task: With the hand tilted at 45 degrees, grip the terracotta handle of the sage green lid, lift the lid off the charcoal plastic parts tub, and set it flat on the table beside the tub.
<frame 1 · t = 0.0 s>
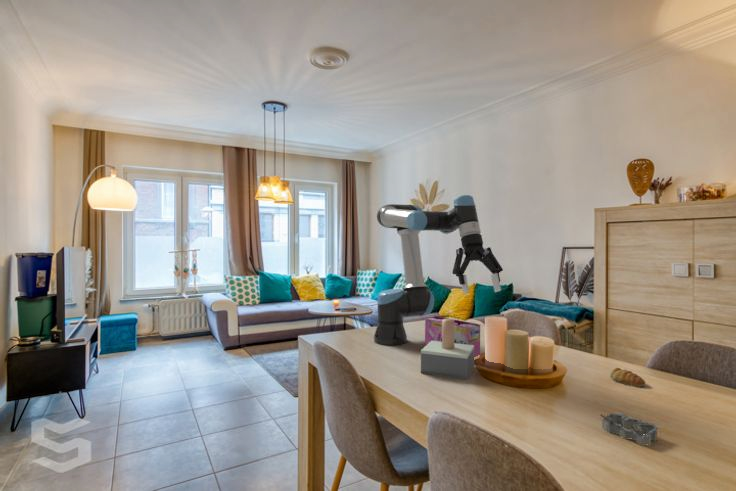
hand: (482, 292, 138), 28 cm above the table, tool tilted 20°, fingers open, 13 cm apart
tub: (448, 369, 140), on the table
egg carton: (629, 435, 94), on the table
lid: (448, 350, 139), point 7 cm above the table, touching tub
pastry: (626, 382, 128), on the table
gum box: (451, 354, 159), on the table
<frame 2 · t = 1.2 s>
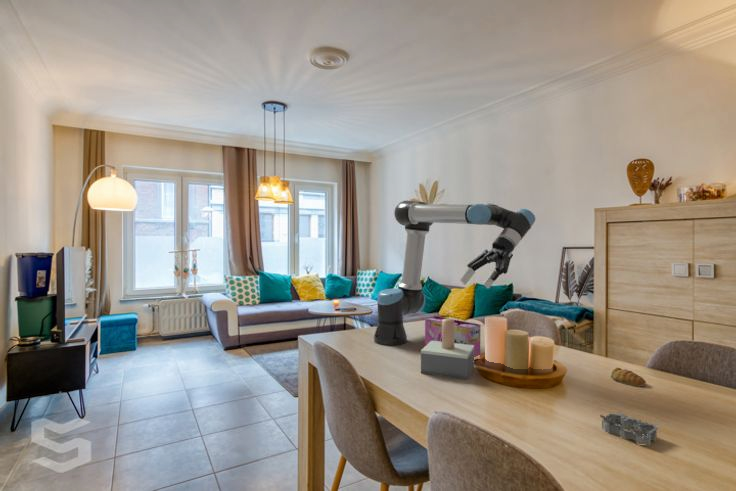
hand: (473, 284, 143), 30 cm above the table, tool tilted 45°, fingers open, 13 cm apart
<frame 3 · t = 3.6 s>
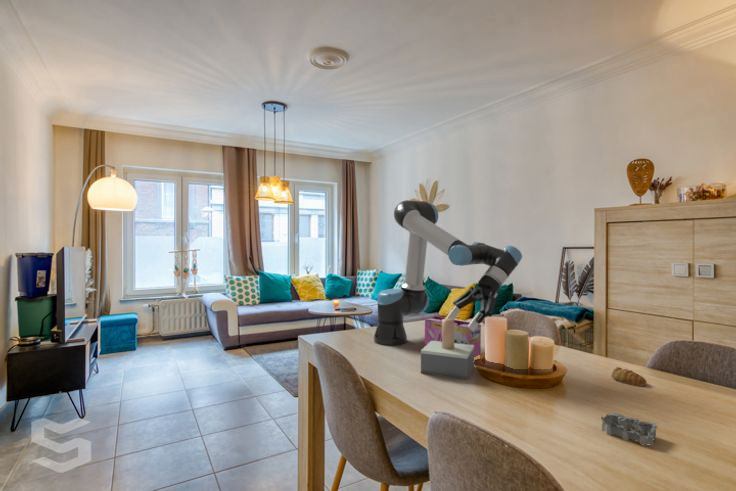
hand: (458, 325, 140), 16 cm above the table, tool tilted 45°, fingers open, 13 cm apart
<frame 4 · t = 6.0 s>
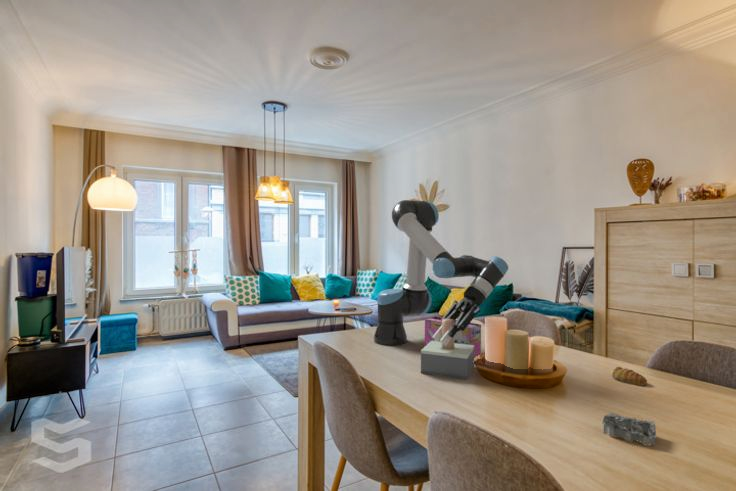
hand: (439, 341, 138), 11 cm above the table, tool tilted 45°, fingers closed on lid, 4 cm apart
lid: (448, 350, 139), point 7 cm above the table, touching gripper, tub
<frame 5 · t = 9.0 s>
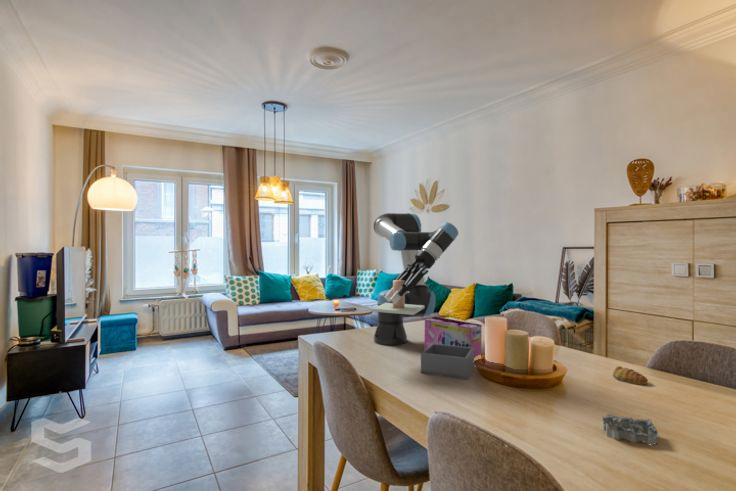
hand: (389, 300, 145), 24 cm above the table, tool tilted 45°, fingers closed on lid, 4 cm apart
lid: (398, 309, 147), point 20 cm above the table, touching gripper
when the fingers open (5 cm above the table, at t = 12.1 s): lid drops 2 cm, on the table.
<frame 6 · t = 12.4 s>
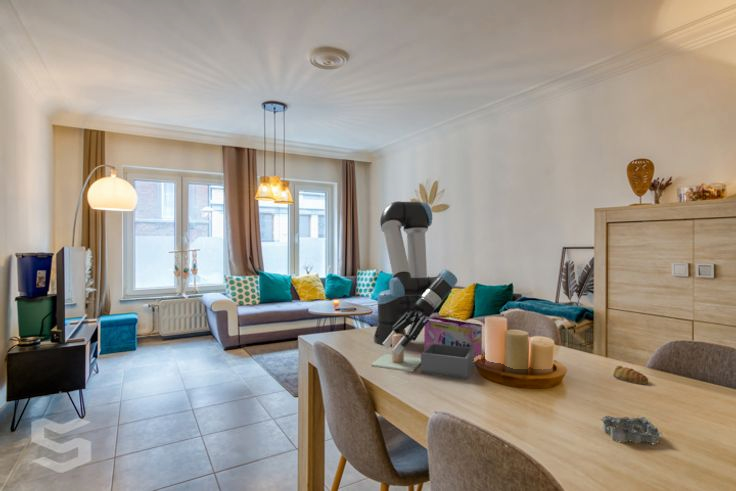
hand: (390, 349, 146), 6 cm above the table, tool tilted 45°, fingers open, 8 cm apart
lid: (398, 364, 147), on the table
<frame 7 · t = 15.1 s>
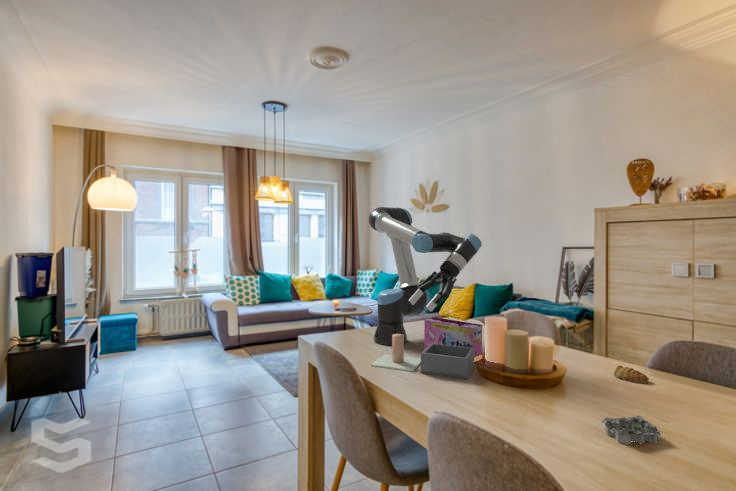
hand: (419, 306, 151), 21 cm above the table, tool tilted 45°, fingers open, 13 cm apart
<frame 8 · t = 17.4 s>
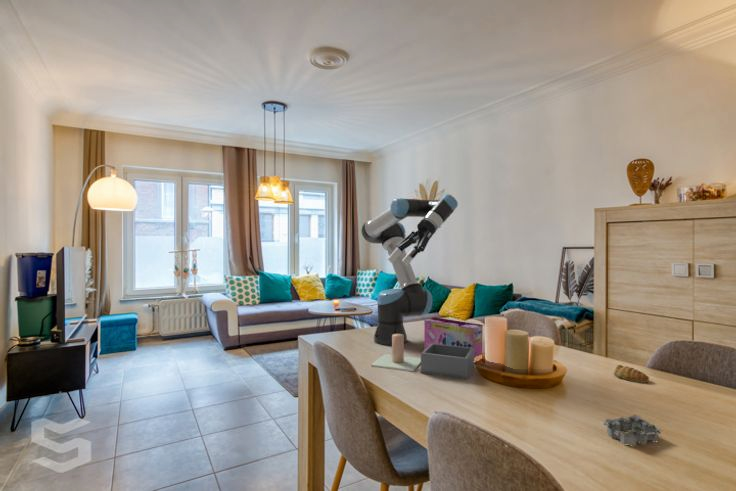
hand: (396, 262, 156), 38 cm above the table, tool tilted 45°, fingers open, 13 cm apart
at the end: lid inside the target area (0.0 cm from its centre), on the table; lid tilted 0°; the gripper is holding nothing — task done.
